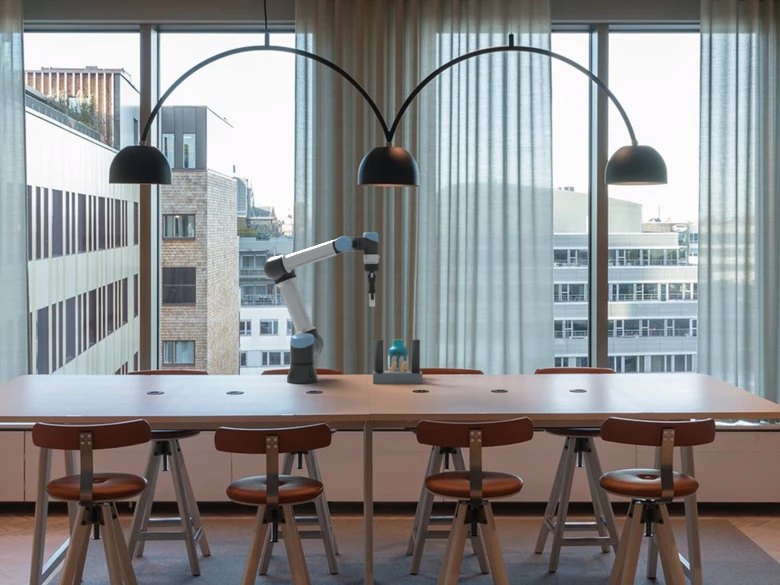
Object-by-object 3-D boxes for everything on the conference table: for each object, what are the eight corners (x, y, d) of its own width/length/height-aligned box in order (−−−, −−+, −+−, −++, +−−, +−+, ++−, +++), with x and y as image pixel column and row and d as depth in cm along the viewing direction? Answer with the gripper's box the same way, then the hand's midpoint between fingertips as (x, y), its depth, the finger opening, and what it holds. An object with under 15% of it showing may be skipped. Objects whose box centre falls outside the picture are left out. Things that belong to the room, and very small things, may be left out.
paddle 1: (390, 370, 466) (394, 361, 466) (390, 369, 469) (394, 361, 469) (393, 371, 466) (397, 363, 466) (393, 370, 469) (397, 362, 469)
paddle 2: (400, 369, 466) (404, 361, 466) (400, 369, 469) (404, 361, 469) (403, 371, 466) (407, 363, 466) (403, 370, 469) (407, 362, 469)
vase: (384, 376, 490) (384, 339, 489) (402, 374, 495) (403, 338, 494) (393, 378, 481) (393, 340, 480) (411, 377, 485) (412, 340, 484)
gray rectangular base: (373, 383, 462) (373, 372, 462) (372, 380, 472) (373, 370, 472) (422, 383, 463) (422, 372, 463) (421, 380, 473) (421, 370, 473)
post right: (411, 372, 466) (411, 340, 465) (411, 371, 470) (411, 339, 469) (419, 372, 466) (420, 340, 465) (419, 371, 470) (419, 339, 469)
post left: (375, 372, 465) (375, 340, 464) (375, 371, 469) (375, 339, 468) (383, 372, 465) (383, 340, 464) (383, 371, 469) (383, 339, 468)
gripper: (379, 263, 461) (380, 307, 462) (378, 262, 485) (379, 304, 486) (364, 263, 460) (365, 307, 461) (363, 263, 485) (364, 304, 486)
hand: (372, 305), depth 474 cm, fingers open, 13 cm apart
